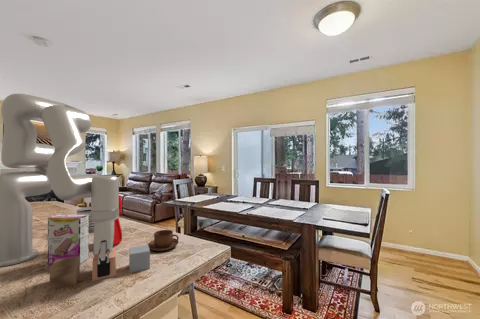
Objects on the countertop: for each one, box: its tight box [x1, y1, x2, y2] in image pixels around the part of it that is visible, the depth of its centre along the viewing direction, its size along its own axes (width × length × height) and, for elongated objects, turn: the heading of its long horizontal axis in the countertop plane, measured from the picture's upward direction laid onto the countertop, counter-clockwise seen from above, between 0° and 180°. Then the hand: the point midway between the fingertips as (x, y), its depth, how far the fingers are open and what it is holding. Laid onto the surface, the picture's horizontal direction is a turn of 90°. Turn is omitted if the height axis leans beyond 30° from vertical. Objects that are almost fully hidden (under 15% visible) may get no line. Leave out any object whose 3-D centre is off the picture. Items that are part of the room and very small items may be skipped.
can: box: [76, 206, 95, 234], centre depth 112 cm, size 11×11×12 cm
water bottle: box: [113, 194, 123, 247], centre depth 94 cm, size 9×11×25 cm
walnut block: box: [49, 256, 81, 291], centre depth 65 cm, size 6×6×6 cm
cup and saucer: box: [147, 229, 180, 252], centre depth 92 cm, size 12×12×6 cm
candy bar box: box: [47, 213, 90, 266], centre depth 78 cm, size 11×5×16 cm, turn 92°
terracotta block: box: [91, 249, 117, 282], centre depth 70 cm, size 6×6×6 cm
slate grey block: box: [128, 244, 151, 274], centre depth 75 cm, size 6×6×6 cm
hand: (104, 269), depth 70 cm, fingers open, 8 cm apart
